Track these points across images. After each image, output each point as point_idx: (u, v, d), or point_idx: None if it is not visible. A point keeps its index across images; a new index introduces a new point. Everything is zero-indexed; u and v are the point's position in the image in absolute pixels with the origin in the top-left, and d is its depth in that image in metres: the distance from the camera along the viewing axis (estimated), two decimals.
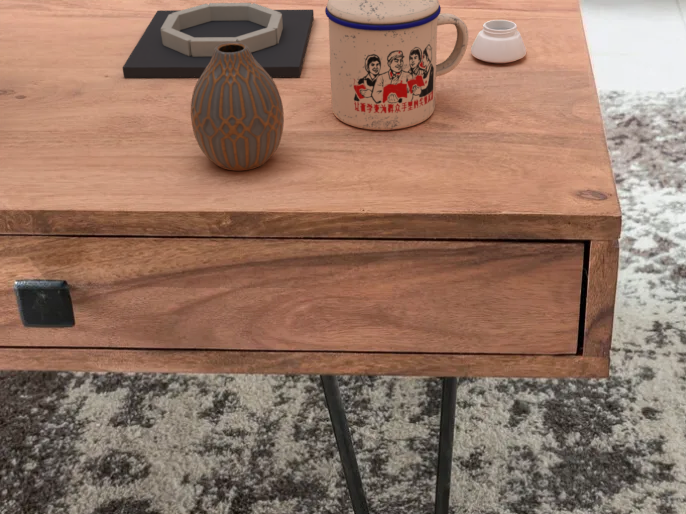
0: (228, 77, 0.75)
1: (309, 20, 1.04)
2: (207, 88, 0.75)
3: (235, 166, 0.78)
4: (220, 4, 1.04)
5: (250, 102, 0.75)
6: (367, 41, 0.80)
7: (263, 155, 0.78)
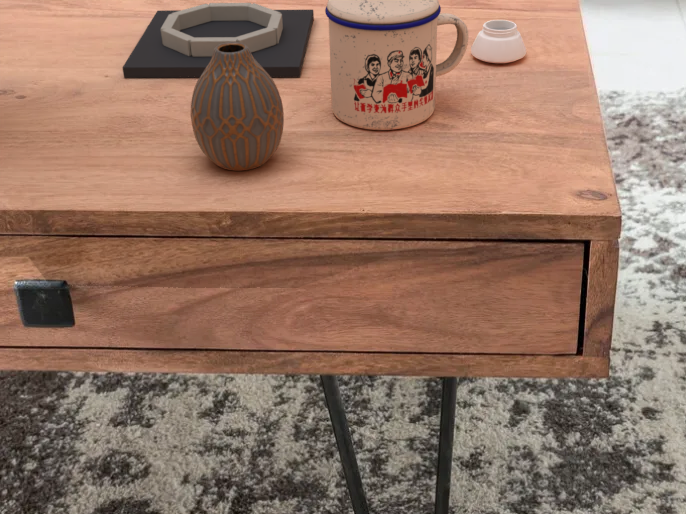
0: (228, 77, 0.75)
1: (309, 20, 1.04)
2: (207, 88, 0.75)
3: (235, 166, 0.78)
4: (220, 4, 1.04)
5: (250, 102, 0.75)
6: (367, 41, 0.80)
7: (263, 155, 0.78)
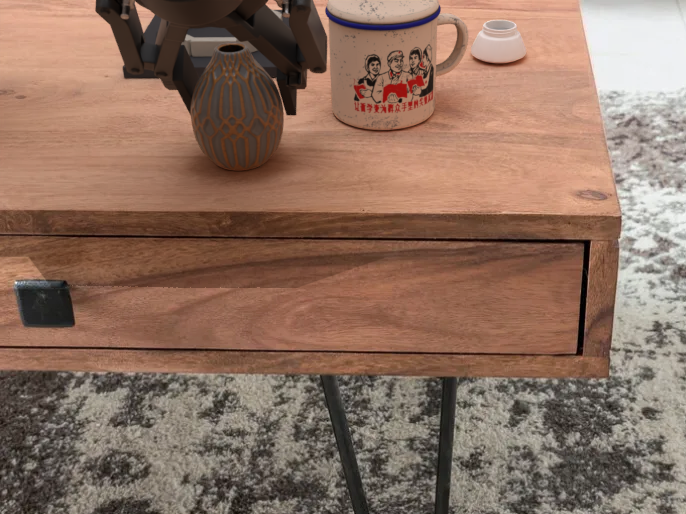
0: (228, 77, 0.75)
1: None
2: (207, 88, 0.75)
3: (235, 166, 0.78)
4: None
5: (250, 102, 0.75)
6: (367, 41, 0.80)
7: (263, 155, 0.78)
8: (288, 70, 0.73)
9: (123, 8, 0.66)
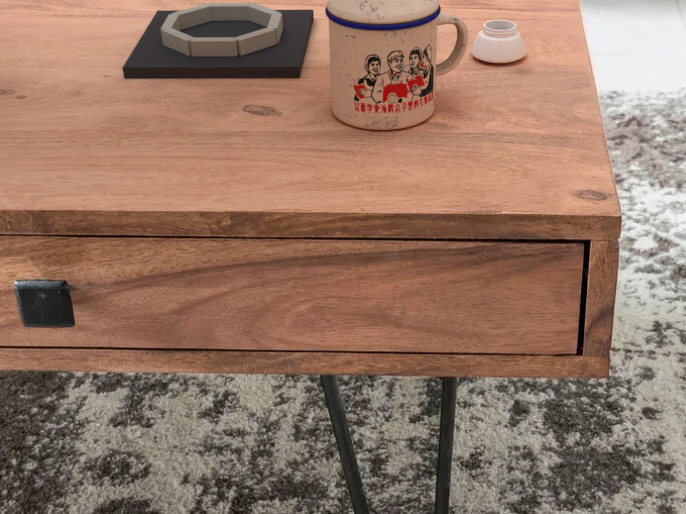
0: None
1: (309, 20, 1.04)
2: None
3: None
4: (220, 4, 1.04)
5: None
6: (367, 41, 0.80)
7: None
8: None
9: None
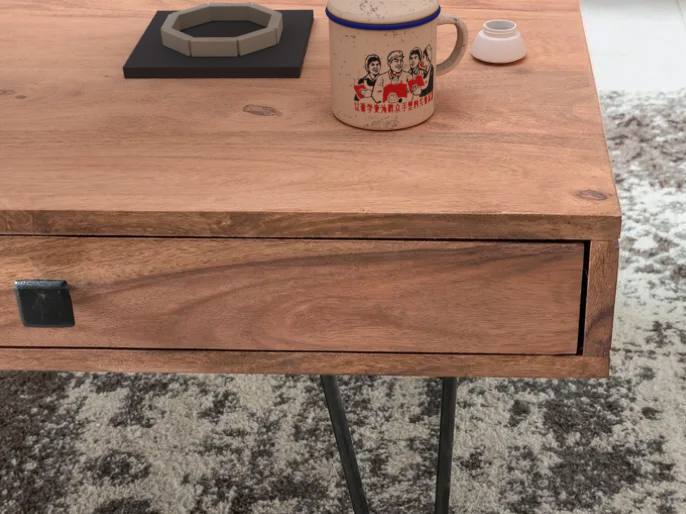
0: None
1: (309, 20, 1.04)
2: None
3: None
4: (220, 4, 1.04)
5: None
6: (367, 41, 0.80)
7: None
8: None
9: None
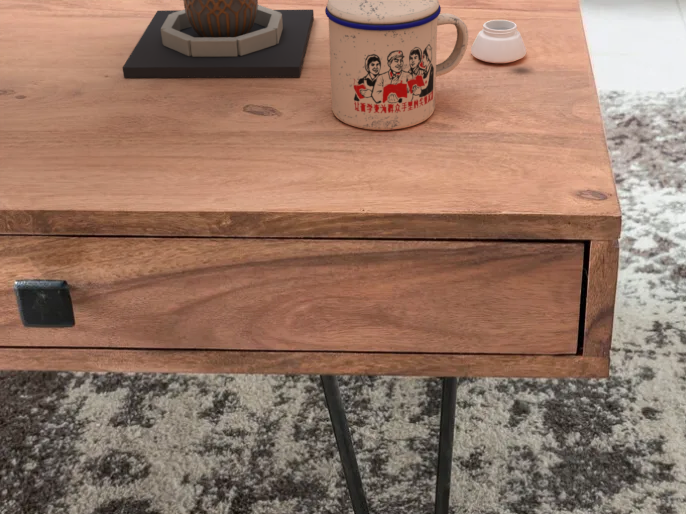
0: None
1: (309, 20, 1.04)
2: None
3: None
4: None
5: None
6: (367, 41, 0.80)
7: (241, 30, 0.98)
8: None
9: None
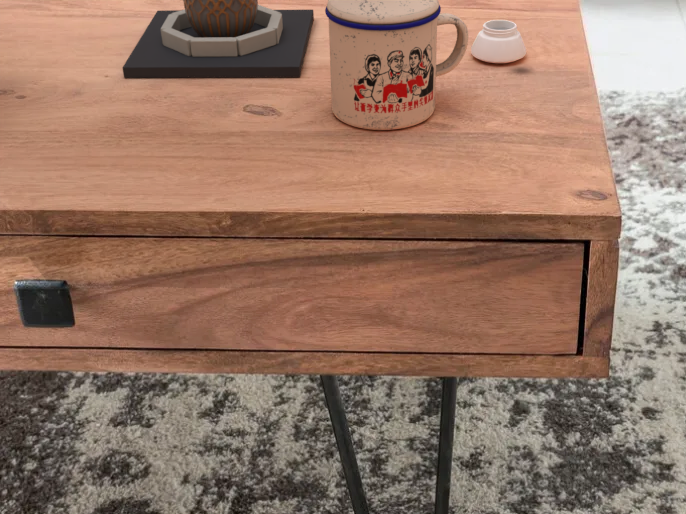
0: None
1: (309, 20, 1.04)
2: None
3: None
4: None
5: None
6: (367, 41, 0.80)
7: (241, 30, 0.98)
8: None
9: None
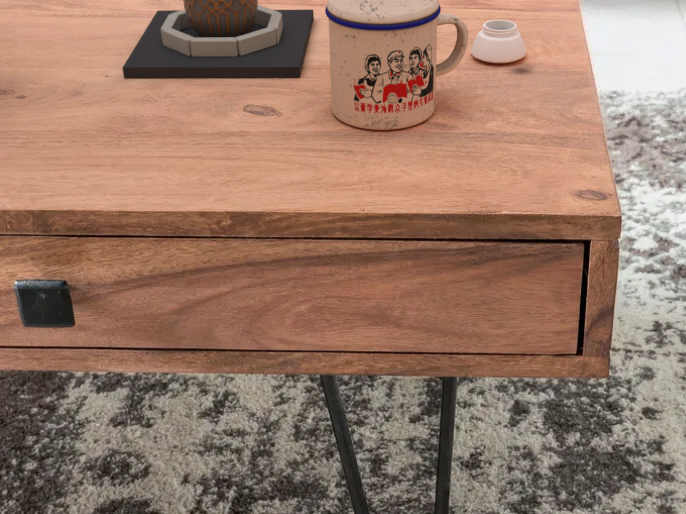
0: None
1: (309, 20, 1.04)
2: None
3: None
4: None
5: None
6: (367, 41, 0.80)
7: (241, 30, 0.98)
8: None
9: None
